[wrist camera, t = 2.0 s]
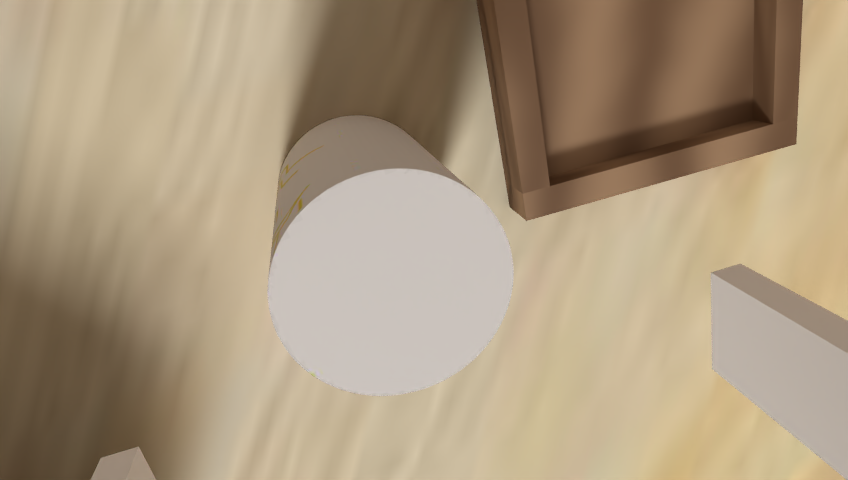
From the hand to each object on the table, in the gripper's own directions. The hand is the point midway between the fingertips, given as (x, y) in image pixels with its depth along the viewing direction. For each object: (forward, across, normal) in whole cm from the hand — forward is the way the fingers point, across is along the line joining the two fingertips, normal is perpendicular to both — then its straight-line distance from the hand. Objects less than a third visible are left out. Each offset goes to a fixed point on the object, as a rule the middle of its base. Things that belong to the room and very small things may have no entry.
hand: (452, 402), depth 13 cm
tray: (+18, +16, +5) cm, 25 cm away
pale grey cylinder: (+18, 0, 0) cm, 19 cm away
